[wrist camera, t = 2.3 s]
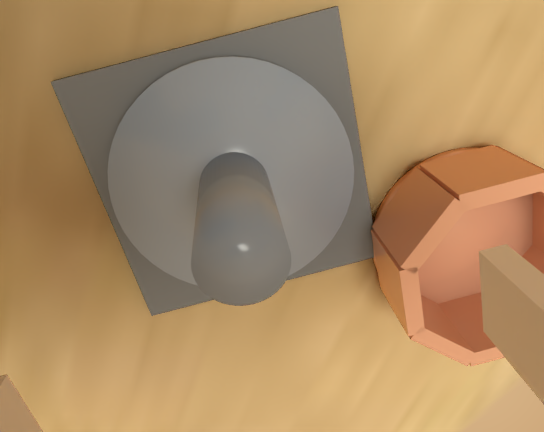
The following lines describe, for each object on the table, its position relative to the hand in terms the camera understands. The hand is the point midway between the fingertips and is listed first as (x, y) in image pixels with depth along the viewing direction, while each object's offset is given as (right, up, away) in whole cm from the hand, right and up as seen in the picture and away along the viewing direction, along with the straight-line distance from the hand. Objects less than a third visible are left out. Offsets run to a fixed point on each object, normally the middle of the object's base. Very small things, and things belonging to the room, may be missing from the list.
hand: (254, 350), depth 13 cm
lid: (-2, +6, +12) cm, 13 cm away
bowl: (+12, +3, +15) cm, 20 cm away
